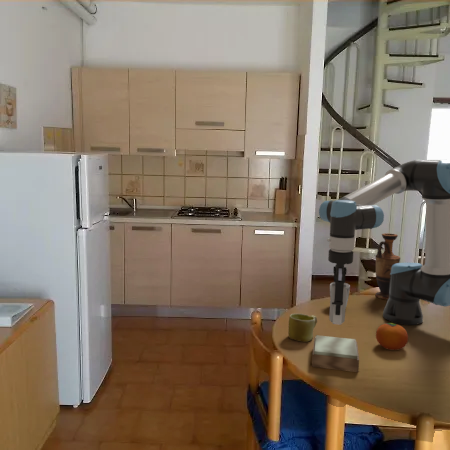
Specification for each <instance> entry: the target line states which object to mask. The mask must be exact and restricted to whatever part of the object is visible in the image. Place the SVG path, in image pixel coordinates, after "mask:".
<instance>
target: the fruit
mask: <svg viewBox="0 0 450 450" xmlns="http://www.w3.org/2000/svg"><path fill="white" fill-rule="evenodd" d="M375 334H376V335H375V338H376V342H377V343H378V345H380V346H381V347H382V348H384V349H386V350H389V351H390V350H391V351H399V350H401V349H404V348H405V347H406V346H407V344H408V341H409V335H408V332H407V330H406V329H405V327H403V326H401V324H397V323H394V322H388V323H384V324H383V323H382V324H380V325H379V326H378V328H376V333H375Z"/></svg>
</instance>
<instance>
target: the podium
mask: <svg viewBox="0 0 450 450" xmlns="http://www.w3.org/2000/svg"><path fill="white" fill-rule="evenodd" d="M313 339H314V341H313V349H312V359H311V360H312V361H311V367H312V368H319V369H320V368H321V369H329V370H339V371H347V372H354V373H359V369H360V368H359V367H360V356H359V348H358V342H357V340H356V338H346V337H336V336H335V337H334V336H328V335H327V336H325V335H317V334H316V336H315V337H314V338H313Z"/></svg>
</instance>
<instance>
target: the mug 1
mask: <svg viewBox="0 0 450 450" xmlns="http://www.w3.org/2000/svg"><path fill="white" fill-rule="evenodd" d="M288 317H289V318H288V337H289V339H291V340H294V341H298V342H302V343H308V342H309V341H312V339H314V338H313V337H314V335H313V334H314V329H315V327H316V326H317V323H318V318H317V316H316V315H313V314H311V315H308V314H305V313H304V314H303V313H291V314H289V316H288Z"/></svg>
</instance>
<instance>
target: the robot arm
mask: <svg viewBox="0 0 450 450" xmlns="http://www.w3.org/2000/svg"><path fill="white" fill-rule="evenodd" d="M407 191H412V192H413V191H417V192H421V199H422V200H423V201H425V203H426V204H425V206H426V207H425V244H424V245H425V246H424V247H425V250H424V251H425V253H424V259H425V260H424V264H422V263H419V262H399V263H396V264H394V265H392V267H391V273H390V290H389V299H387V301H386V304H385V306H384V308H383V312H382V317H383V318H384V319H385V320H387V321H389V322H390V323H393V324H397V325H405V326H410V325H411V326H414V325H419V324H421V323H423V322H424V321H423V319H424V314H423V311H422V306H421V303H420V300H421V301H424V302H427V303H431V304H433V305H436V306H441V307H449V306H450V160H447V159H415V160H414V159H413V160H411V161H407V162H405V163H401V164H399V165H398V166H395V167H393V168H391V169H389V170H387V171H386V172H385V174H384V175H383V176H382V177H379V178H377V179H376V180H374V181H372V182H371V181H370V183H367V184H366V185H364V186H362V187H359V188H358V189H356V190H354V191H353V192H350V193H348V194H346V195H344V196H343V197H341V198H339V199H335V200H331V199H330V200H324V201H323V202H322V203H321V204H320V206H319V208H318V214H319V217H320V219H321V220H322V221H323V222H326V223H329V238H327V239H326V241H327V242H329V243H328V247H329V250H328V258H327V259H328V261H329V263H332V264H335V266H333V268H332V269H333V282H335V299H334V302H332V304H334V307H333V323H332V324H333V325H339V326H340V325H342V324H343V323H342V307H343V289H344V283H346V275H347V273H348V272H347V271H348V270H347V267H345V265H351V264H353V262H354V251H353V250H354V249H355V235H356V234H355V233H356V231H357V230H372V229H375V228H376V229H377V228H379V227H381V226H382V224H383V223H384V219H385V215H384V214H385V213H384V211H383V209H382V208H381V207H380V206H379V205H376V204H377V203H378V204H379V202H381V201H383V200H385V199H387V198H389V197H390V196H393V195H394V194H402V193H404V192H407ZM341 323H342V324H341Z"/></svg>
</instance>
